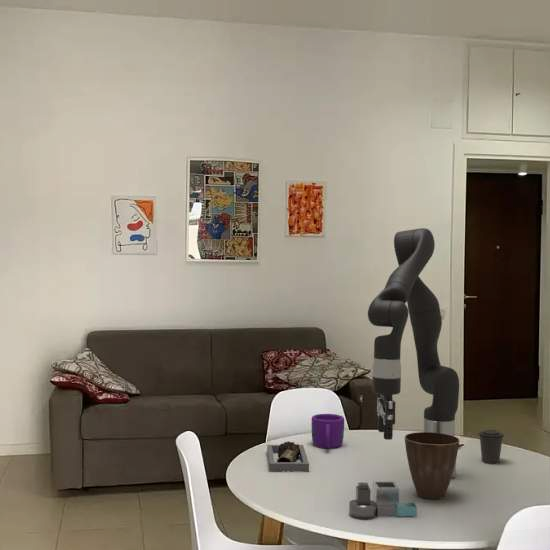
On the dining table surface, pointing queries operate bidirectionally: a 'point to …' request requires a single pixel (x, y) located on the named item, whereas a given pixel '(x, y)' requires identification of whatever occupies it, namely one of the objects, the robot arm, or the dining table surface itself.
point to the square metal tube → (385, 492)
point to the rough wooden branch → (288, 452)
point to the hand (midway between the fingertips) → (385, 435)
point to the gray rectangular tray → (287, 465)
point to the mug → (327, 430)
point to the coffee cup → (490, 446)
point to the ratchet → (376, 506)
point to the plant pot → (431, 462)
